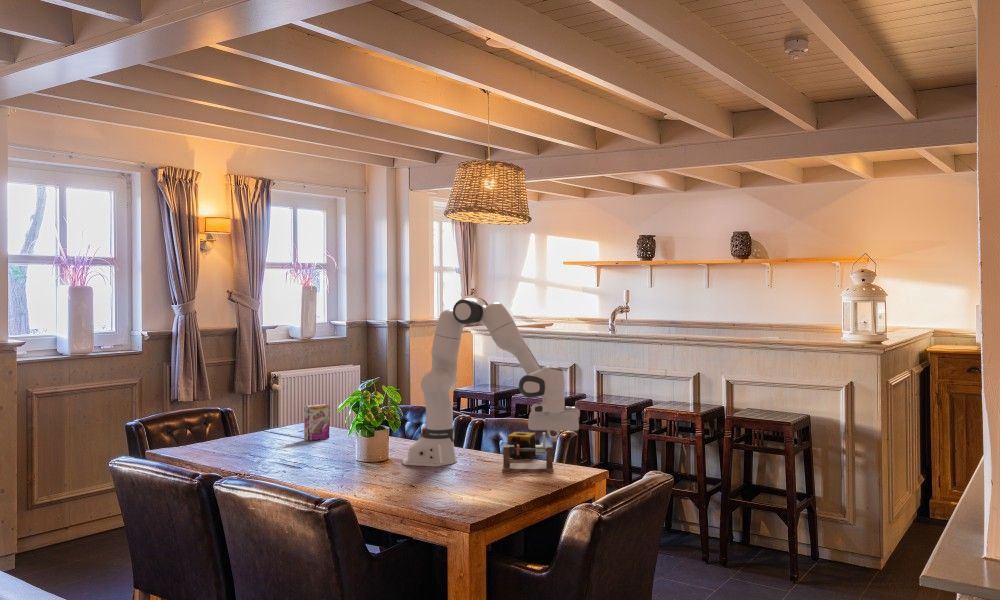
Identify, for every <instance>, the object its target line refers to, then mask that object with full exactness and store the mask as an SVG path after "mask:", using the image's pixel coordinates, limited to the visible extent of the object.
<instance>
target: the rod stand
mask: <svg viewBox="0 0 1000 600" xmlns="http://www.w3.org/2000/svg"><path fill="white" fill-rule="evenodd" d="M502 448H503V451H502V452H503V453H502V455H503V458H502V459H503V462H502V463H503V465H502V472H547V473H546V474H551V473H550V472H554V471H555V470H554V461H553V459H554V458H553V456H554V455H553V453H554V451H553V449H554V447H553V444H546V448H519V445H517V448H514V445H508V444H503V446H502ZM536 449H546V455H545V456H546V460H545V461H546V462H545V463H544V462H543V463H542V462H540V463H539V462H538V463H537V462H530V463H529V462H521V463H520V462H511V459H510V454H514V451H517V455H519V451H536Z"/></svg>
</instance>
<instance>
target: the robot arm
mask: <svg viewBox="0 0 1000 600" xmlns="http://www.w3.org/2000/svg"><path fill="white" fill-rule="evenodd" d="M476 324H483V325H484V326H485V327H486V329H487V330H488V333H489V334H490V337H491V339H492V340H493V342H494V343H495V345H496V346H497V347H498V348H499V349H501V350H503V351H505V352H508V353H510V354H512V355H513V356H514V357H515V358H516V359H517V360H518V363H519V364H520V366H521V368H522V369H523V371H524V373H525V375H523V376H522V377H521V378H520V379H519V382H518V390H519V392H520V393H521V395H522V396H523V397H525V398H528V399H529V398H530V399H534V398H537V397H541V398H542V401H540V402H537V403H534V404H532V405H531V407H530V409H531V411H530V413H529V415H528V425H527V428H528V430H529V431H546V434H547V436H548V437H549V442H552V443H553V442H557V443H558V437H559V435H560V434H561V431H574V432H575V431H579V429H580V423H579V422H580V421H579V418H580V416H581V410H580V409H579V408H577V407H576V406H566V404H565V402H566V401H565V399H566V398H565V388H566V387H565V385H566V384H565V382H566V381H565V372H564V370H563V368H561V367H559V366H556V365H549V364H548V365H544V366H543V367H541V366H540V365H539V363H538V361H537V360H536V358H535V355H533V353H532V351H531V349H530V347H528V345H527V344H526V342H525V340H524V337H523V336H522V334H521V332H520V330H519V328H518V326H517V324H516V322H515V320H514V319H513V317H512V315H511V313H509V311H508V310H507V308H506V307H505V306H504V304H503V303H501V302H499V301H497V302H491V303H489V304H488V302H487V300H484V299H483V298H481V297H474V296H473V297H472V296H470V297H467V298H466V297H465V298H460V299H458V301H456V303H454V305H453V308H451V309H450V308H449V309H444V310H443V311H441V313H440V315H439V317H438V320H437V323H436V327H435V331H434V336H433V340H432V346H431V370H429V371H428V372H426V373H425V374H424V375H423V377H422V378H421V382H420V388H421V391H422V393H423V400H424V404H425V413H426V414H425V419H426V420H425V422H426V423H425V424H426V425H425V426H426V427H425V426H424V427H422V428H421V437H420V438H419V439H417V440H416V441H415V442H414V443H412V445H410V446H409V448H408V452H407V456H405V457H404V458H403V459H402V462H401V463H402V464H403V465H404V466H417V467H418V466H419V467H420V466H421V467H434V468H435V467H437V468H438V467H443V466H447V465H452V464H455V463H457V462H458V459H457V455H456V452H455V444H454V441H455V427H454V421H453V420H454V419H453V418H454V417H453V416H454V413H453V412H454V411H453V407H452V402H451V396H450V391H452V390H453V389H454V387H455V386H456V383H457V380H458V379H457V375H458V374H457V373H458V372H457V371H458V357H459V350H460V346H461V345H460V344H461V339H462V333H463V329H464V327H465V326H468V325H471V326H472V325H476ZM551 431H556V434H555V436H552V435H551Z"/></svg>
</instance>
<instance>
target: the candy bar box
mask: <svg viewBox="0 0 1000 600" xmlns="http://www.w3.org/2000/svg"><path fill="white" fill-rule="evenodd" d="M303 408H304V412H303V416H304V417H303V418H304V419H303V421H304V422H303V424H304V425H303V426H304V427H303V433H304V434H303V435H304V436H303V440H304V441H306V440H307V442H312V441H311V440H314V441H319V440H318V439H322V440H326V439H325V438H329V439H330V405H329V404H327V403H323V404H322V403H321V404H311V405H304V407H303Z"/></svg>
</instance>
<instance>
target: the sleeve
mask: <svg viewBox="0 0 1000 600" xmlns="http://www.w3.org/2000/svg"><path fill="white" fill-rule="evenodd" d="M546 434H547V432H542V444H536V448H546V445H547V443H546V441H547V439H546ZM538 455H539V456H541V455H542V456H543V455H544V456H546V449H536V456H538Z"/></svg>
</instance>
